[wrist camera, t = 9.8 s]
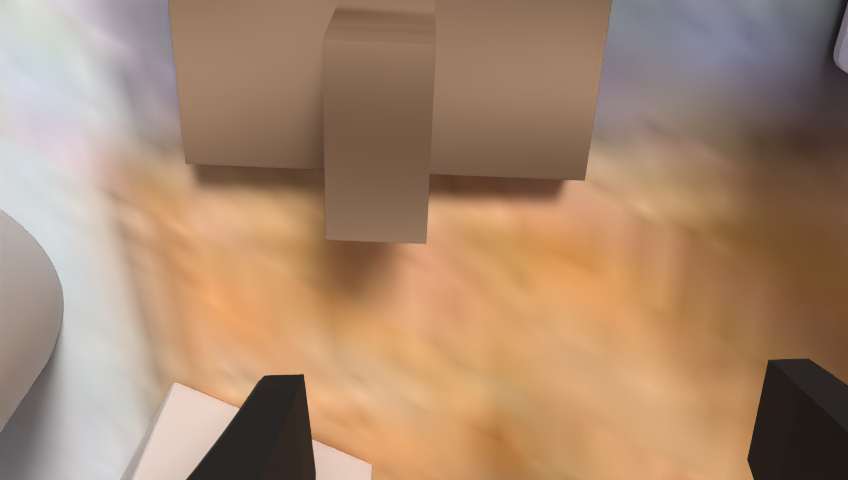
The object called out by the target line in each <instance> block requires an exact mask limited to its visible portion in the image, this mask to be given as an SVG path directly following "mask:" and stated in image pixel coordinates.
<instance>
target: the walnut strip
mask: <svg viewBox="0 0 848 480" xmlns="http://www.w3.org/2000/svg"><path fill="white" fill-rule="evenodd" d="M168 4H169V14H170V23H171V32H172V42H173V51H174V60H175V69H176V79H177V88H178V97H179V107H180V116H181V125H182V134H183V144H184V153H185V162H186V164H199V165H223V166H247V167H271V168H295V169H319V170H324V176H325V232H326V240H342V241H367V242H392V243H417V244H426V238H427V218H428V199H429V179H430V174H439V175H463V176H487V177H511V178H536V179H560V180H584V181H585V175H586V168H587V162H588V155H589V149H590V142H591V135H592V129H593V122H594V116H595V109H596V103H597V96H598V90H599V83H600V76H601V70H602V63H603V57H604V50H605V44H606V37H607V31H608V24H609V17H610V11H611V4H612V0H168Z"/></svg>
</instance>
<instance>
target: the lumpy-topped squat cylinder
mask: <svg viewBox="0 0 848 480" xmlns="http://www.w3.org/2000/svg"><path fill="white" fill-rule="evenodd" d="M63 306H64V302H63V291H62V286H61V283H60V280H59V277H58V274H57V272H56V270H55V267H54V265H53V264H52V262H51V260H50V258H49V257H48V255H47V254H46V252H45V251H44V249H43V248H42V246H41V245H40V244H39V243H38V242H37V240H36V239H35V238H34V237H33V236H32V235H31V234H30V233H29V232H28V231H27V230H26V229H25V228H24V227H23V226H22V225H20V224H19V223H18V222H17V221H16V220H14V219H13V218H12V217H11V216H9V215H8V214H7V213H5V212H4V211H2V210H1V209H0V432H1V431H2V429H3V428H4V426H5V425H6V423H7V422H8V420H9V419H10V417H11V416H12V414H13V413H14V412H15V410H16V409H17V407H18V406H19V404H20V403H21V401H22V400H23V398H24V397H25V395H26V394H27V392H28V391H29V389H30V388H31V386H32V385H33V383H34V382H35V380H36V379H37V377H38V376H39V374H40V373H41V371H42V370H43V368H44V367H45V365H46V364H47V362H48V361H49V359H50V357H51V355H52V353H53V350H54V348H55V345H56V342H57V339H58V336H59V332H60V328H61V324H62V318H63Z"/></svg>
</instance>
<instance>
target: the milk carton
mask: <svg viewBox="0 0 848 480" xmlns="http://www.w3.org/2000/svg"><path fill="white" fill-rule="evenodd" d="M239 409H240V408H237V407H235V406H233V405H230V404H228V403H226V402H223V401H221V400H218V399H216V398H214V397H211V396H209V395H206V394H204V393H202V392H199V391H197V390H194V389H192V388H190V387H187V386H185V385H182V384H180V383H177V382H175V383H173V384H172V386H171V387H170V389H169V391H168V392H167V394H166V396H165V398H164V400H163V402H162V403H161V405H160V407H159V409H158V411H157V413H156V415H155V416H154V418H153V420H152V422H151V424H150V426H149V428H148V430H147V431H146V433H145V435H144V437H143V439H142V441H141V443H140V444H139V446H138V448H137V450H136V452H135V454H134V456H133V458H132V459H131V461H130V463H129V465H128V467H127V469H126V471H125V472H124V474H123V476H122V478H121V480H186V479H187V478H188V476H189V475H190V474H191V473H192V472H193V470H194V469H195V468H196V467H197V465H198V464H199V463H200V461H201V460H202V459H203V458H204V456H205V455H206V454H207V452H208V451H209V450H210V449H211V447H212V446H213V445H214V443H215V442H216V441H217V440H218V438H219V437H220V436H221V434H222V433H223V432H224V430H225V429H226V427H227V426H228V425H229V423H230V422H231V421H232V419H233V418H234V416H235V415H236V414H237V412H238V411H239ZM312 444H313V452H314V460H315V468H316V480H371V478H372V465H371V464H370V463H368V462H365V461H363V460H361V459H358V458H356V457H354V456H351V455H349V454H347V453H344V452H342V451H339V450H337V449H335V448H332V447H330V446H328V445H325V444H323V443H321V442H318V441H316V440H313V439H312Z"/></svg>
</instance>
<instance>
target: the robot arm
mask: <svg viewBox="0 0 848 480" xmlns="http://www.w3.org/2000/svg"><path fill="white" fill-rule="evenodd" d="M833 58H834V61H835V64H836V65H837V66H838V67H839V68H840V69H842V70H843V71H845V72H846V73H848V4H847V7H846V11H845V14H844V18H843V21H842V24H841V28H840V31H839V35H838V38H837V42H836V45H835V49H834V56H833ZM747 460H748V463H749V466H750V469H751V472H752V475H753V478H754V480H848V386H847V385H846V384H845V383H843V382H842V381H840V380H839V379H838V378H836V377H835V376H833V375H832V374H831V373H829V372H828V371H826V370H825V369H823V368H822V367H820V366H819V365H817V364H816V363H814V362H813V361H811V360H809V359H781V360H768V365H767V370H766V374H765V379H764V384H763V388H762V393H761V398H760V403H759V407H758V412H757V417H756V422H755V426H754V431H753V436H752V440H751V445H750V450H749V455H748V459H747ZM186 480H316V468H315V460H314V452H313V444H312V437H311V429H310V421H309V413H308V405H307V397H306V389H305V381H304V374H301V375H269V376H264V377H263V378H262V379H261V380H260V381H259V382H258V383H257V384H256V386H255V387H254V389H253V390H252V392H251V393H250V395H249V396H248V398H247V399H246V401H245V402H244V404H243V405H242V407H241V408H240V409H239V411H238V412H237V414H236V415H235V416H234V418H233V419H232V421H231V422H230V423H229V425H228V426H227V427H226V429H225V430H224V432H223V433H222V434H221V436H220V437H219V438H218V440H217V441H216V442H215V443H214V445H213V446H212V447H211V449H210V450H209V451H208V452H207V454H206V455H205V456H204V458H203V459H202V460H201V461H200V463H199V464H198V465H197V467H196V468H195V469H194V470H193V472H192V473H191V474H190V475H189V476H188V478H187V479H186Z"/></svg>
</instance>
